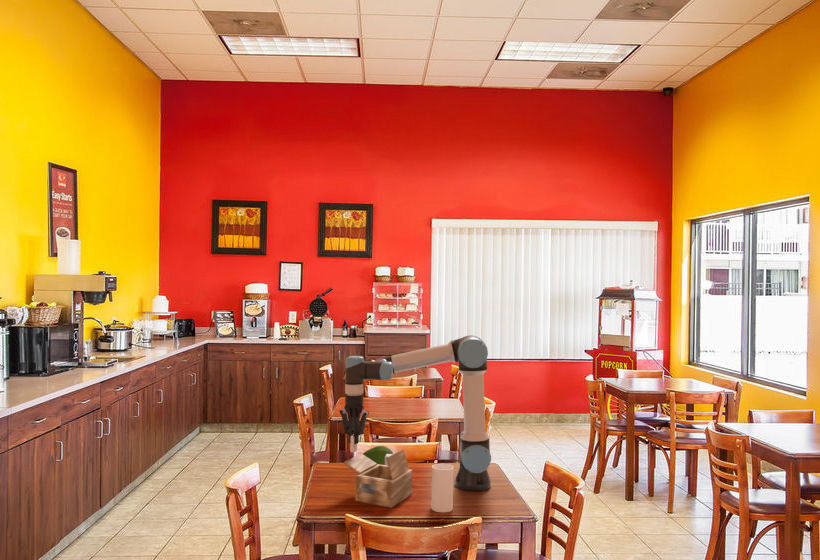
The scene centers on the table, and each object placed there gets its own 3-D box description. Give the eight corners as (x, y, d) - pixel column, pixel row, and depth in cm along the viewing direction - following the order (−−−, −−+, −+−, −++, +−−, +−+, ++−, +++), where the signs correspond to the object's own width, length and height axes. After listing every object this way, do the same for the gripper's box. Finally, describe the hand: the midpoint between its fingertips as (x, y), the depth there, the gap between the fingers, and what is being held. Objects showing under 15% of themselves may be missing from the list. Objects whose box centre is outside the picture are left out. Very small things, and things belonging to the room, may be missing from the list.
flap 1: (376, 463, 259) (361, 453, 262) (360, 472, 246) (344, 461, 249) (376, 464, 259) (361, 455, 262) (359, 473, 246) (343, 463, 250)
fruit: (360, 470, 285) (361, 448, 285) (362, 464, 295) (362, 443, 295) (393, 470, 285) (394, 449, 285) (393, 464, 295) (394, 443, 295)
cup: (430, 504, 242) (430, 463, 242) (450, 504, 243) (451, 463, 243) (432, 512, 234) (433, 469, 234) (454, 512, 235) (455, 469, 235)
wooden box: (412, 493, 254) (413, 469, 255) (390, 508, 237) (391, 482, 237) (378, 487, 261) (378, 463, 261) (354, 501, 244) (355, 476, 244)
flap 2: (409, 468, 252) (403, 449, 254) (393, 478, 240) (387, 457, 241) (407, 469, 253) (402, 449, 254) (391, 478, 240) (386, 457, 241)
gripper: (372, 393, 257) (371, 451, 256) (345, 391, 262) (344, 447, 262) (363, 396, 250) (362, 455, 250) (335, 394, 255) (335, 451, 255)
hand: (353, 451), depth 256 cm, fingers closed
